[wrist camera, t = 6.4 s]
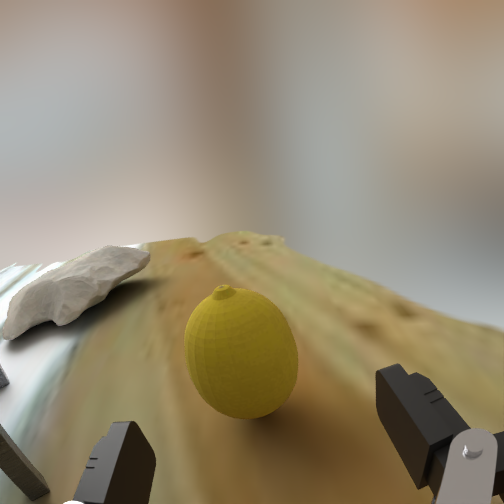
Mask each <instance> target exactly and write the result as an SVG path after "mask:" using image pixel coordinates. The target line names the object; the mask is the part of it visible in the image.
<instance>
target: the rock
mask: <svg viewBox="0 0 504 504" xmlns="http://www.w3.org/2000/svg"><path fill="white" fill-rule="evenodd" d="M149 261H150V253H149V252H147V251H141V250H138V249H136V248H129V247H118V246H105V247H103V248H99V249H96V250H93V251H91V252H89V253H87V254H85V255H83V256H81V257H79V258H77V259H75V260H73V261H72V262H69V263H67V264H65V265H63V266H61V267H59V268H57V269H54V270H51V271H48V272H47V273H45V274H43V275H42V276H41V277H39V278H38V279H36V280H35V281H33V282H31V283H30V284H28V285H26V286H25V287H23V288H22V289H21V290H20V291H19V292H18V293H17V294H16V295H15V296H13V298H12V299H11V301H10V303H9V309H8V312H7V319H6V321H5V325H4V327H3V338H4V340H13V339H15V338H16V337H17V336H19V335H21V334H22V333H24V332H25V331H26V330H27V329H29V328H31V327H33V326H35V325H38V324H40V323H43V322H45V321H50V320H53V321H54V322H55V323H56V324H57V325H58V326H61V325H65V324H68V323H70V322H72V321H73V320H75V319H77V318H78V317H79V316H80V315H81V313H82V312H83V311H85V310H86V309H88V308H89V307H92V306H94V305H96V304H98V303H99V302H101V301H103V300H104V299H105V298H106V296H107V294H108V293H109V291H110V290H112V289H113V288H115V287H116V286H117V285H118V284H119V283H120V282H121V281H123V280H125V279H127V278H129V277H131V276H133V275H134V274H136V273H138V272H140V271H141V270H142V269H144V268H145V267H146V266H147V264H148V263H149Z"/></svg>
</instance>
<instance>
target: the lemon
mask: <svg viewBox="0 0 504 504" xmlns="http://www.w3.org/2000/svg"><path fill="white" fill-rule="evenodd" d="M184 342H185V358H186V364H187V368H188V371H189V374H190V377H191V379H192V381H193V383H194V385H195V387H196V389H197V390H198V392H199V394H200V395H201V397H202V398H203V399H204V400H205V401H206V402H207V403H208V404H209V405H210V406H212V407H213V408H214V409H215V410H217V411H218V412H220V413H222V414H224V415H227V416H230V417H233V418H238V419H255V418H259V417H263V416H265V415H267V414H270V413H272V412H273V411H275V410H276V409H277V408H279V407H280V406H281V405H282V404H283V403H284V402H285V401H286V400H287V398H288V397H289V396H290V394H291V392H292V390H293V388H294V386H295V383H296V380H297V373H298V352H297V347H296V343H295V340H294V337H293V335H292V332H291V329H290V327H289V325H288V323H287V321H286V319H285V317H284V316H283V314H282V312H281V311H280V310H279V309H278V307H277V306H276V305H275V304H273V303H272V302H271V301H270V300H269V299H268V298H266V297H265V296H263V295H261V294H259V293H256V292H254V291H251V290H247V289H240V288H232V287H231V286H229V285H221V286H218V287H217V288H215V290H214V292H213V294H212V295H210V296H208V297H207V298H206V299H204V300H203V301H202V302H201V303H200V304H199V305H198V306H197V307H196V308H195V310H194V311H193V313H192V314H191V316H190V318H189V321H188V323H187V326H186V329H185V336H184Z"/></svg>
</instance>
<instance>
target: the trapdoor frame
mask: <svg viewBox="0 0 504 504" xmlns="http://www.w3.org/2000/svg"><path fill="white" fill-rule="evenodd" d="M7 384H9V380H8V377H7V376H6V374H5V372H4V370H3V368H2V367H1V365H0V388H2V387H4V386H6V385H7ZM0 468H1V469H2V470H3V472H4V473H5V474H6V475H7V476H8V477H9V478H10V479H11V480H12V481H13V482H14V483H15V484H16V485H17V486H18V487H19V489H20V490H21V491H22V492H23V493H24V494H26V495H27V496H28V497H29V498H30V499H31V500H32V501H33V500H35V499H37V498H39V497H41V496H42V495H44V494H46V493H48V492H49V491H50V490H49V488H48V486H47V484H46V482H45V479H44V477H43V476H42V475H41V474H40V473H39V472H38V470H37V469H36V468H35V467H34V466H33V465H32V464H31V462H30V461H29V460H28V459H27V458H26V456H25V455H24V454H23V453H22V452H21V450H20V449H19V448H18V447H17V445H16V444H15V443H14V442H13V440H12V439H11V438H10V436H9V435H8V434H7V432H6V431H5V430H4V428H3V427H2V426H1V424H0Z"/></svg>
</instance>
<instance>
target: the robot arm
mask: <svg viewBox="0 0 504 504" xmlns="http://www.w3.org/2000/svg"><path fill="white" fill-rule="evenodd" d="M376 408H377V412H378V416H379V418H380V421H381V422H382V424H383V426H384V428H385V430H386V431H387V433H388V435H389V437H390V439H391V441H392V442H393V444H394V446H395V448H396V450H397V452H398V453H399V455H400V457H401V459H402V461H403V463H404V465H405V466H406V468H407V470H408V472H409V474H410V476H411V478H412V479H413V481H414V483H415V485H416V487H417V489H418V490H419V489H421V488H423V487H425V486H427V485H429V487H430V489H431V491H432V492H433V494H434V495H433V498H432V501H431V504H490V503H491V497H492V496H495V495H498V494H499V496H500V497H501V499H502V501H503V502H504V431H503V432H500V433H496V434H491V433H490V432H488V431H487V430H484V429H478V428H474V429H471V428H470V427H469V426H468V425H467V424H466V422H465V421H464V420H463V419H462V417H461V416H460V415H459V414H458V413H457V411H456V410H455V409H454V408H453V407H452V405H451V404H450V403H449V402H448V401H447V399H446V398H444V396H443V395H442V393H441V392H440V391H439V390H437V388H436V386H435V385H434V384H433V383H432V382H431V380H430V379H429V378H427V377H425V376H423V375H421V374H419V373H417V372H416V373H413V374H411V375H408V374H407V373H406V371H405V370H404V369H403V368H402V366H401V365H400V364H398V363H397V364H394V365H391V366H389V367H386V368H383V369H380V370H377V371H376ZM89 458H90V460H88V462H87V465H86V469H85V470H84V472H83V475H82V477H81V480H80V482H79V485H78V487H77V490H76V493H75V495H74V498H73V500H72V501H69V502H66V503H63V504H148V503H149V497H150V492H151V487H152V482H153V477H154V472H155V467H156V458H155V453H154V451H153V449H152V447H151V446H150V444H149V442H148V441H147V439H146V438H145V436H144V434H143V433H142V431H141V429H140V428H139V426H138V424H137V423H136V422H134V421H126V422H113V423H112V424H111V426H110V429H109V431H108V434H107V436H106V437H102V438H101V439H100V440H99V441H98V443H97V444H96V445H95V446H94V447H93V450H92V452H91V455H90V457H89Z"/></svg>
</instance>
